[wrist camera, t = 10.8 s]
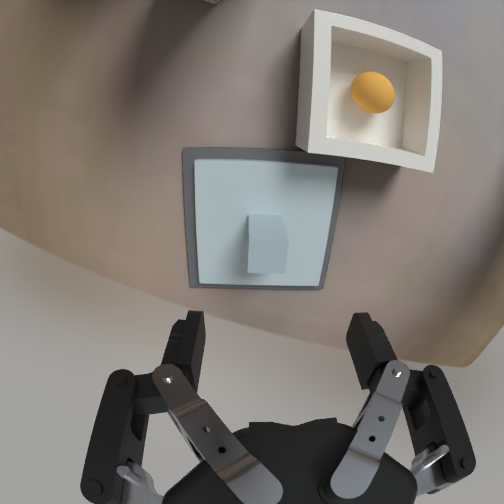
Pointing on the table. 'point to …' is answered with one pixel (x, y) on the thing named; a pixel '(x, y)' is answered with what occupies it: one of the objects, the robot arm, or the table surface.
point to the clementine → (372, 92)
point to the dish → (343, 106)
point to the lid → (262, 221)
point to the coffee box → (212, 1)
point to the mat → (250, 154)
